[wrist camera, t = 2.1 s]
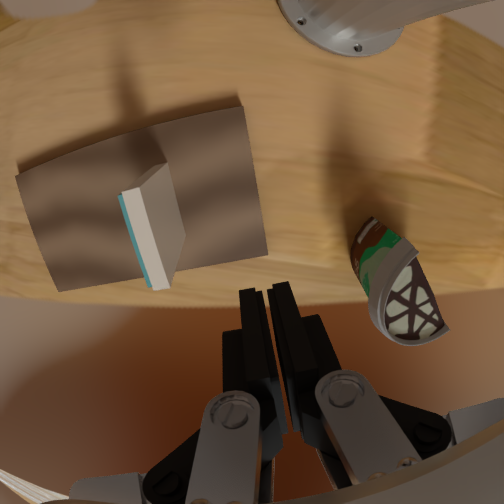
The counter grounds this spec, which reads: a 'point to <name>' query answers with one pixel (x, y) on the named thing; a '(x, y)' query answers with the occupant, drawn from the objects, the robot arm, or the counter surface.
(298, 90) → the counter surface
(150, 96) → the counter surface
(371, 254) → the food container
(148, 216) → the tile
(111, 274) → the board
